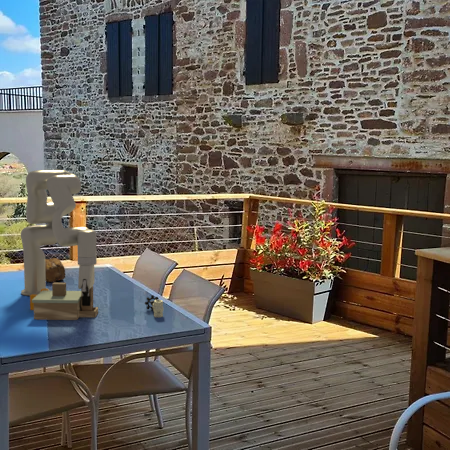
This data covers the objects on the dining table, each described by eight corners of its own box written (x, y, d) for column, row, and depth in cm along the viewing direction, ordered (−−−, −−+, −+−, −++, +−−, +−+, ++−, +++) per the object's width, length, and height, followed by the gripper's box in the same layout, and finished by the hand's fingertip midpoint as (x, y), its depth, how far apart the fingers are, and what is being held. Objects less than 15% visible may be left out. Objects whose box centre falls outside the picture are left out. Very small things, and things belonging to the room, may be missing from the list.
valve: (167, 317, 249) (159, 309, 260) (167, 301, 248) (159, 294, 259) (151, 318, 247) (144, 310, 258) (151, 302, 246) (144, 295, 257)
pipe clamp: (39, 302, 268) (38, 288, 267) (48, 303, 267) (48, 288, 266) (26, 310, 256) (26, 295, 255) (36, 310, 255) (35, 295, 255)
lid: (42, 293, 256) (42, 278, 255) (85, 293, 256) (85, 279, 255) (31, 302, 241) (31, 287, 240) (77, 303, 241) (77, 288, 240)
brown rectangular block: (83, 312, 252) (83, 284, 250) (93, 312, 252) (93, 284, 250) (81, 315, 248) (81, 286, 246) (91, 315, 248) (91, 286, 246)
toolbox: (43, 309, 256) (43, 293, 255) (99, 310, 257) (99, 294, 256) (34, 319, 242) (33, 302, 241) (93, 320, 243) (93, 303, 242)
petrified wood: (69, 281, 307) (64, 262, 304) (43, 288, 302) (38, 270, 299) (62, 272, 324) (58, 254, 322) (38, 279, 319) (33, 261, 317)
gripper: (82, 255, 255) (82, 298, 257) (73, 264, 238) (73, 309, 241) (100, 256, 255) (100, 298, 258) (92, 264, 238) (92, 310, 241)
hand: (87, 303), depth 249 cm, fingers closed on brown rectangular block, 4 cm apart
